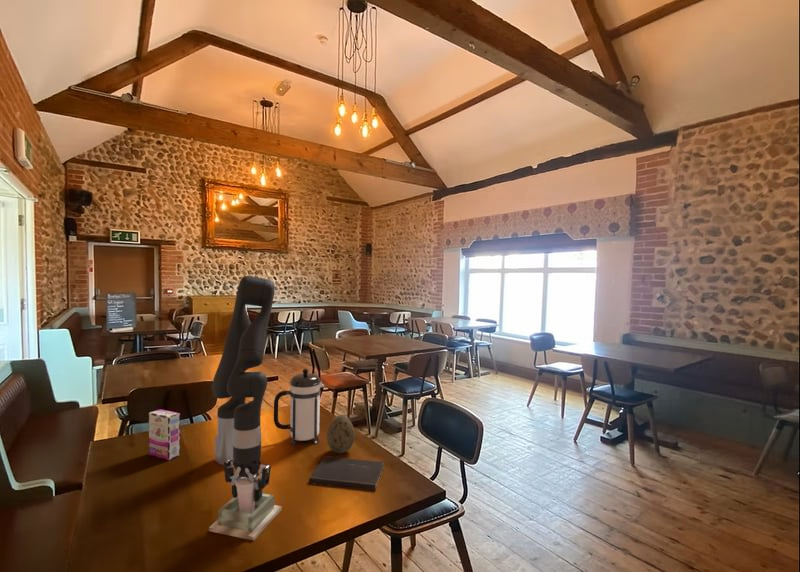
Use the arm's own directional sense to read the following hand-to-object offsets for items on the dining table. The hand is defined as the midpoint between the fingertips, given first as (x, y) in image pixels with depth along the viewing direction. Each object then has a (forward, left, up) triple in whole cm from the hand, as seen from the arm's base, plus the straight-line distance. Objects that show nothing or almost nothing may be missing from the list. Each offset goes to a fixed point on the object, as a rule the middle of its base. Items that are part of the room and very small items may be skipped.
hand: (247, 498), depth 113 cm
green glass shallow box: (0, 0, -6) cm, 6 cm away
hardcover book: (+19, +31, -7) cm, 37 cm away
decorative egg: (+10, +46, -7) cm, 47 cm away
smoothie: (0, 0, -4) cm, 4 cm away
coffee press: (-10, +52, -7) cm, 53 cm away
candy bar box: (-53, +25, -7) cm, 59 cm away
